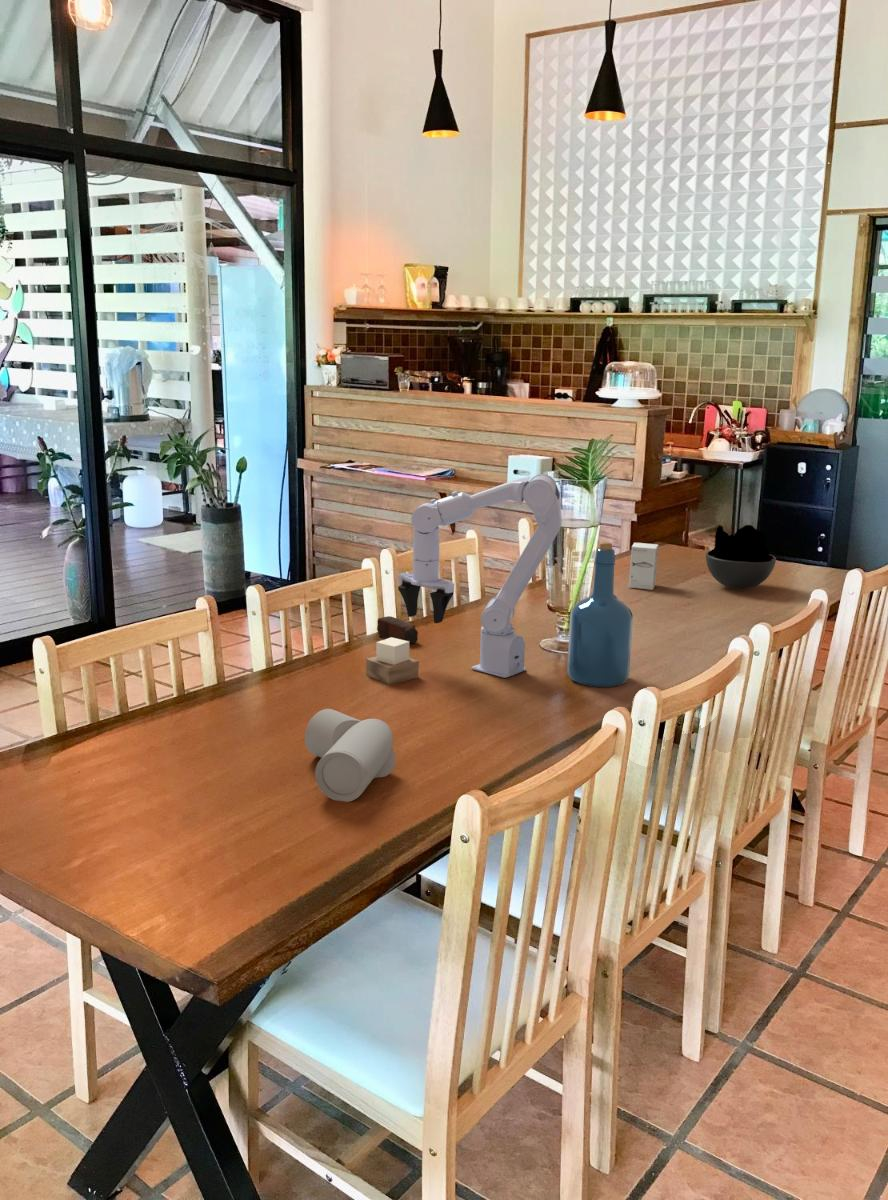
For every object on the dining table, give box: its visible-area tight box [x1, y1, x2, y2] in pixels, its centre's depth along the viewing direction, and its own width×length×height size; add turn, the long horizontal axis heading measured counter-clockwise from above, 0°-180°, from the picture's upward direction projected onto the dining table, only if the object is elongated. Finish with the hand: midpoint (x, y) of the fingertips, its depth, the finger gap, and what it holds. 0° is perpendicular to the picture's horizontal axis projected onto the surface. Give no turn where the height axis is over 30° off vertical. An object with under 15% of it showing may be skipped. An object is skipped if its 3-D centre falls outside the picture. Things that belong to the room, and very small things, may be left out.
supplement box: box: [628, 542, 659, 591], centre depth 306 cm, size 7×7×13 cm
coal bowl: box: [705, 524, 777, 590], centre depth 305 cm, size 20×20×19 cm
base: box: [365, 656, 420, 685], centre depth 222 cm, size 8×8×4 cm
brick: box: [376, 615, 419, 644], centre depth 249 cm, size 11×4×5 cm, turn 44°
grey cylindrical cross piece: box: [304, 708, 396, 803], centre depth 171 cm, size 18×11×20 cm
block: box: [375, 637, 410, 665], centre depth 221 cm, size 5×5×4 cm
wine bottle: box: [566, 541, 634, 688], centre depth 220 cm, size 14×13×30 cm
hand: (425, 619), depth 229 cm, fingers open, 7 cm apart
